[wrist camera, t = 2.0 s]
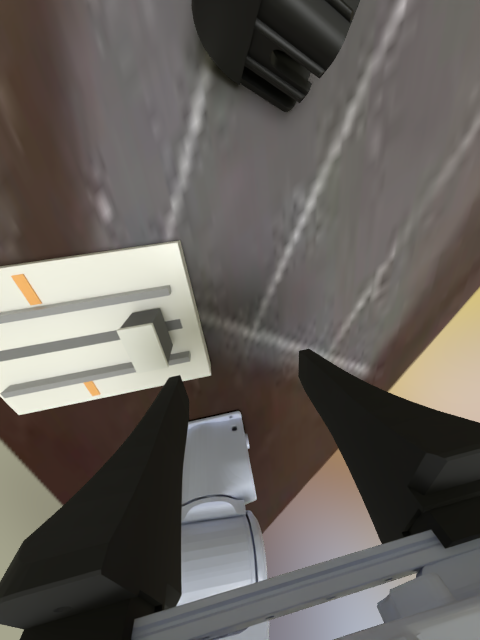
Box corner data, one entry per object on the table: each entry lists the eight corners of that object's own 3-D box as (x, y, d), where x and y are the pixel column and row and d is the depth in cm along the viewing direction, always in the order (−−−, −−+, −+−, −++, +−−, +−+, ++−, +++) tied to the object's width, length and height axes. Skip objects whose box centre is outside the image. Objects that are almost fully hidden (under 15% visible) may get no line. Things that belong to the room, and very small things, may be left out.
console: (180, 240, 17) (175, 243, 14) (210, 363, 24) (211, 381, 21) (-75, 277, 15) (-134, 288, 13) (33, 399, 22) (10, 423, 19)
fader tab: (160, 307, 17) (151, 324, 14) (173, 345, 19) (168, 367, 16) (131, 312, 17) (116, 330, 14) (147, 350, 19) (137, 373, 16)
